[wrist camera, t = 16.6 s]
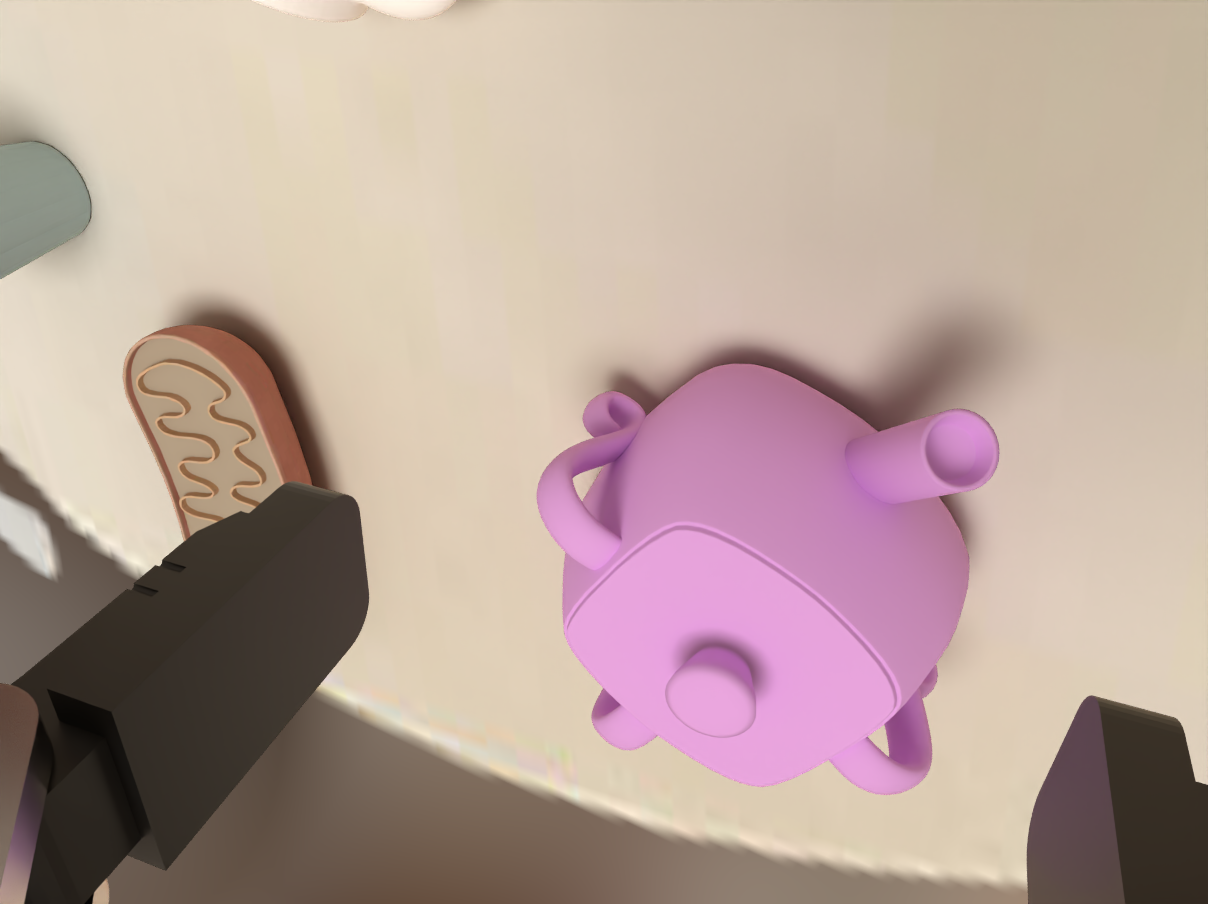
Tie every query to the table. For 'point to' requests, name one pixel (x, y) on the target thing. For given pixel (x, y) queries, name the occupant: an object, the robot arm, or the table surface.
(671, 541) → the teapot
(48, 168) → the cup
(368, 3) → the mug
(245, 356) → the anatomical model
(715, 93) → the table surface
